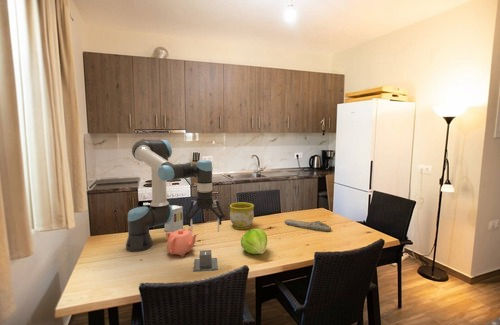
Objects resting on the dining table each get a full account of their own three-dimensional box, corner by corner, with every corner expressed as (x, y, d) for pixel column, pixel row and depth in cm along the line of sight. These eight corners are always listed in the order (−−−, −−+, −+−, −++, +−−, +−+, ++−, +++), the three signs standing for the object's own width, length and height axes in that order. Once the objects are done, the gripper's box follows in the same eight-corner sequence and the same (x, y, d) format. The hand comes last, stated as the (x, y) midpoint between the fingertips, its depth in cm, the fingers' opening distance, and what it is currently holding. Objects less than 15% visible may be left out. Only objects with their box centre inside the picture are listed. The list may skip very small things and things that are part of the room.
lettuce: (247, 262, 143) (247, 237, 142) (237, 247, 162) (237, 225, 161) (274, 258, 148) (274, 234, 147) (261, 244, 167) (261, 223, 166)
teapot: (191, 244, 166) (191, 223, 165) (199, 255, 151) (199, 232, 150) (164, 249, 159) (164, 227, 158) (170, 261, 144) (169, 237, 143)
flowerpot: (231, 222, 209) (231, 202, 208) (254, 223, 209) (254, 202, 207) (228, 230, 191) (228, 208, 190) (253, 231, 191) (253, 208, 189)
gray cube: (199, 261, 142) (199, 250, 142) (211, 260, 143) (211, 249, 143) (199, 266, 136) (199, 254, 136) (211, 266, 137) (211, 254, 137)
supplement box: (173, 233, 186) (172, 209, 185) (164, 230, 191) (163, 207, 189) (183, 229, 194) (183, 206, 193) (174, 227, 199) (173, 204, 197)
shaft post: (194, 260, 145) (194, 252, 145) (216, 259, 147) (216, 250, 146) (193, 271, 133) (193, 262, 133) (217, 269, 135) (217, 260, 135)
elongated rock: (287, 223, 213) (282, 227, 205) (287, 216, 213) (282, 220, 204) (332, 228, 195) (329, 233, 187) (332, 221, 195) (328, 226, 186)
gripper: (178, 193, 131) (179, 235, 133) (229, 191, 134) (229, 233, 137) (180, 189, 138) (180, 230, 140) (228, 188, 142) (228, 227, 144)
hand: (205, 231), depth 138 cm, fingers open, 13 cm apart
